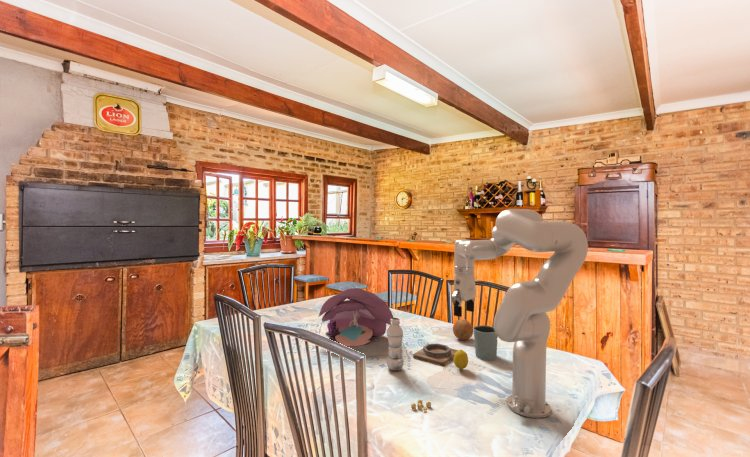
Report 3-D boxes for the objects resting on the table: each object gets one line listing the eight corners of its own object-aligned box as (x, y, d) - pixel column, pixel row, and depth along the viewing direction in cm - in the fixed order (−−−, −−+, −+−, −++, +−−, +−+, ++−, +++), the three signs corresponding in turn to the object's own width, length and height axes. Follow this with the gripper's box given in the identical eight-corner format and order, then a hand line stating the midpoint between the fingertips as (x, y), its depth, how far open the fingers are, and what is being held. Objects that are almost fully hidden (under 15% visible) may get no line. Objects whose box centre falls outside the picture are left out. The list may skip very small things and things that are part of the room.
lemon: (457, 365, 141) (457, 346, 141) (470, 369, 138) (470, 349, 137) (451, 370, 137) (451, 350, 137) (464, 374, 133) (464, 353, 133)
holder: (443, 366, 141) (443, 358, 140) (413, 357, 149) (413, 350, 149) (459, 353, 153) (459, 346, 153) (430, 346, 162) (431, 339, 162)
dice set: (410, 410, 109) (410, 404, 109) (417, 403, 113) (417, 397, 113) (425, 416, 106) (425, 409, 106) (432, 408, 111) (432, 402, 111)
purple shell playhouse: (325, 359, 159) (320, 303, 152) (317, 333, 181) (312, 283, 174) (396, 343, 170) (395, 290, 162) (380, 321, 191) (379, 272, 184)
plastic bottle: (389, 373, 134) (389, 322, 133) (384, 366, 140) (384, 317, 140) (405, 371, 135) (405, 320, 135) (399, 364, 142) (399, 315, 141)
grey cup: (499, 362, 145) (499, 333, 144) (474, 360, 147) (474, 331, 146) (496, 352, 155) (496, 325, 154) (472, 351, 157) (472, 324, 156)
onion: (471, 336, 176) (471, 316, 176) (474, 343, 166) (475, 322, 166) (451, 335, 177) (451, 316, 176) (454, 342, 167) (454, 322, 167)
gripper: (461, 274, 130) (461, 320, 130) (483, 269, 142) (482, 311, 143) (444, 272, 135) (444, 316, 135) (466, 267, 148) (466, 307, 148)
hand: (464, 313), depth 139 cm, fingers open, 9 cm apart
